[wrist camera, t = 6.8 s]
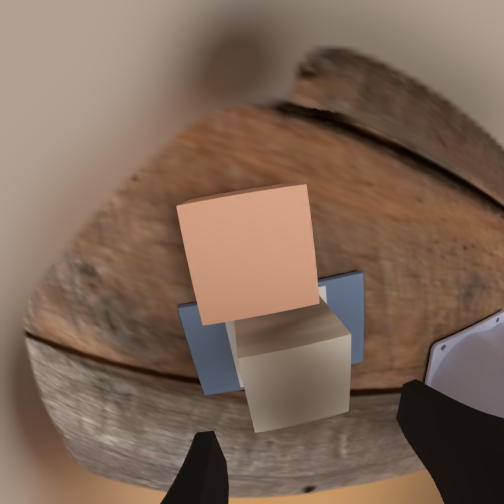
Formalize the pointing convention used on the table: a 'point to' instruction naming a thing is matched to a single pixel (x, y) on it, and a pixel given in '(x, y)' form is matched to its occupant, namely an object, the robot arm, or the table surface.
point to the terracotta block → (250, 252)
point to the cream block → (294, 366)
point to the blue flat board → (224, 339)
